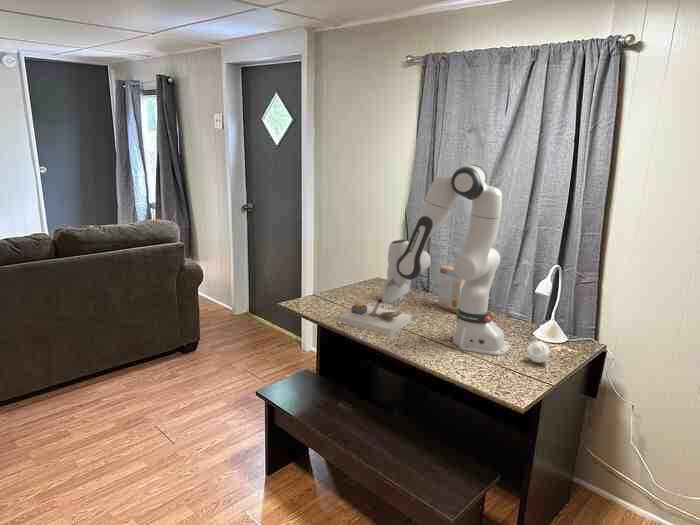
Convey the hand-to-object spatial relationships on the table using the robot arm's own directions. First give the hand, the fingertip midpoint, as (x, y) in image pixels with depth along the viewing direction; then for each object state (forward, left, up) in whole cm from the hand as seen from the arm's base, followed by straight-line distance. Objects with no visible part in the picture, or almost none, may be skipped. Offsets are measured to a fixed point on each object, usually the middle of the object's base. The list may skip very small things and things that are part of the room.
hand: (395, 307), depth 210 cm
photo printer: (+15, -31, -10) cm, 36 cm away
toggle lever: (+11, 0, -5) cm, 12 cm away
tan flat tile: (+3, 0, -4) cm, 5 cm away
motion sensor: (-60, 0, -10) cm, 61 cm away
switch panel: (+10, 0, -9) cm, 14 cm away
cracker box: (-13, -36, -10) cm, 39 cm away
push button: (+18, 0, -4) cm, 19 cm away
